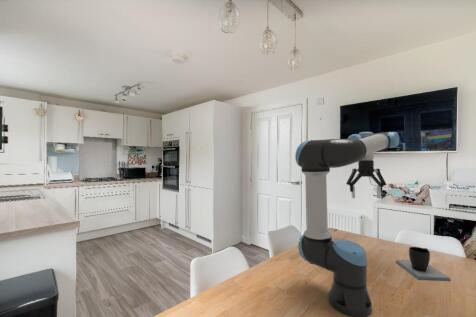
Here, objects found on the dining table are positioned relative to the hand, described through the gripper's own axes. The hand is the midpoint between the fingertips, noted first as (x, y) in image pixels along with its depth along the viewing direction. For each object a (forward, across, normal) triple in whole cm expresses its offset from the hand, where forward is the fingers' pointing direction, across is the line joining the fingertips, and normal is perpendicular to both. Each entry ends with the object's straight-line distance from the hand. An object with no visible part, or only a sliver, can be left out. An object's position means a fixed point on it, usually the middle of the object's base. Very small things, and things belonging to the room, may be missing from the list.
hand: (366, 197), depth 130 cm
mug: (+34, -22, +10) cm, 42 cm away
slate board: (+35, -22, +11) cm, 42 cm away
